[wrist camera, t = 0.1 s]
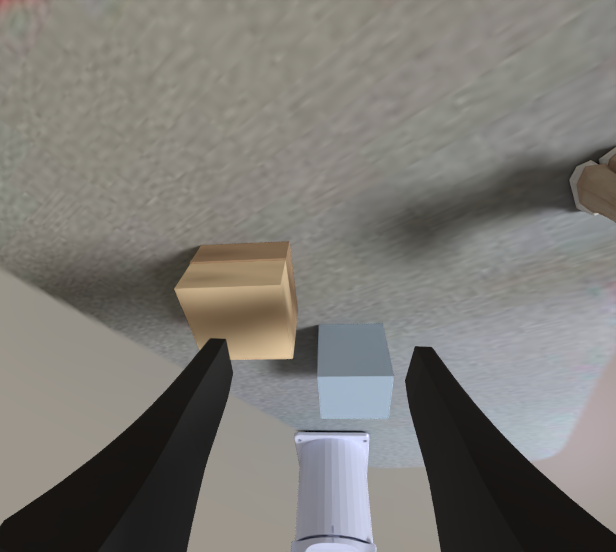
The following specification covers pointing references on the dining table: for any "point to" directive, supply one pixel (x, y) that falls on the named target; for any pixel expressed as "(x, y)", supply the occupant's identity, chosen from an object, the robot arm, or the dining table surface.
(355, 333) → the cube
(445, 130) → the dining table surface
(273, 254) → the lower slab
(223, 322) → the upper slab
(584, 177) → the toy
